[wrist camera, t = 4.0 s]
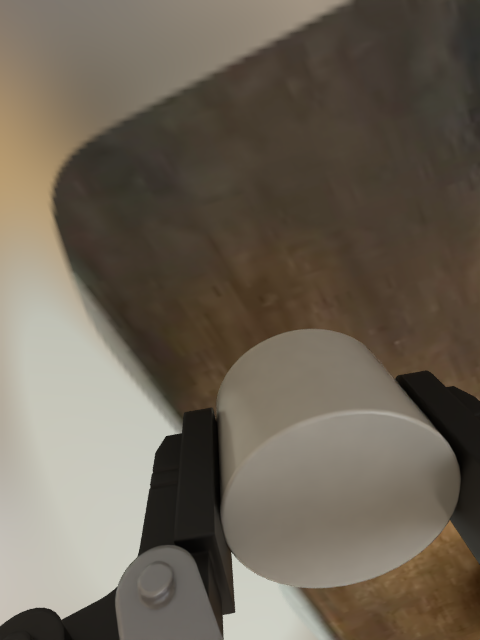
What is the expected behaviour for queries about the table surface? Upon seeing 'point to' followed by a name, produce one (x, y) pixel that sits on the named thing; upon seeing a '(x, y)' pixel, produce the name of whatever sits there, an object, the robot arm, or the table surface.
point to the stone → (327, 463)
